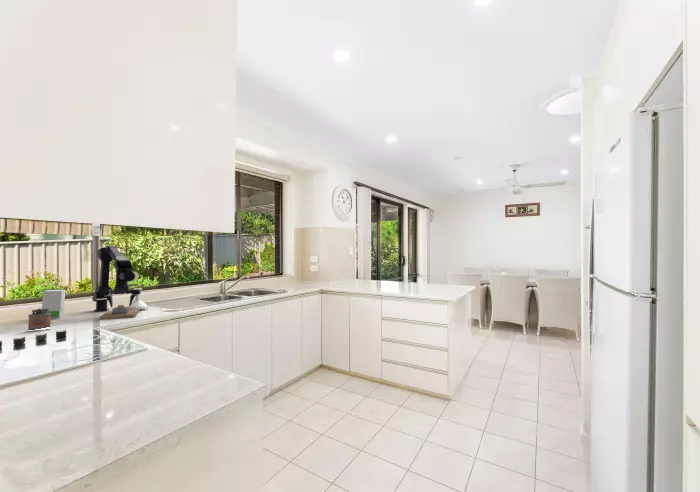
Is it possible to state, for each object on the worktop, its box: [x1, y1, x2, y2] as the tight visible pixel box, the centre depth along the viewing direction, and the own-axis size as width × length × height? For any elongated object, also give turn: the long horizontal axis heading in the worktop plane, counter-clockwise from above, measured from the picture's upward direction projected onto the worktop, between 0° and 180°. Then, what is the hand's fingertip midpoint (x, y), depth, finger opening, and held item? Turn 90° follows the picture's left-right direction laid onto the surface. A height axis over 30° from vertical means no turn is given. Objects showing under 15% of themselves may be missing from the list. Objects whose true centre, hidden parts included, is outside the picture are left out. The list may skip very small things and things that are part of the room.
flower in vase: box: [126, 271, 148, 311], centre depth 205 cm, size 13×11×25 cm
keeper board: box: [98, 304, 140, 321], centre depth 186 cm, size 20×16×6 cm
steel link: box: [111, 306, 129, 314], centre depth 186 cm, size 7×7×3 cm
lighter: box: [27, 308, 52, 331], centre depth 149 cm, size 8×3×10 cm, turn 114°
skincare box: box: [41, 289, 66, 320], centre depth 177 cm, size 8×7×16 cm
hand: (120, 306), depth 186 cm, fingers open, 8 cm apart
